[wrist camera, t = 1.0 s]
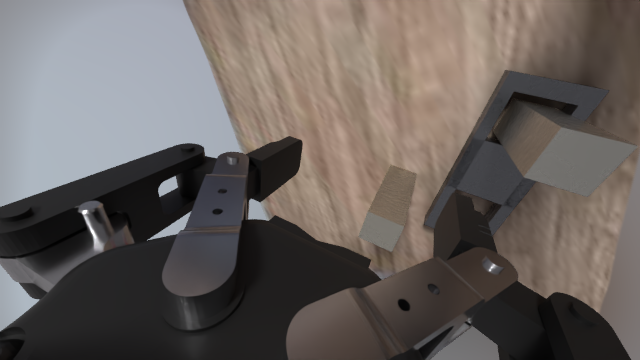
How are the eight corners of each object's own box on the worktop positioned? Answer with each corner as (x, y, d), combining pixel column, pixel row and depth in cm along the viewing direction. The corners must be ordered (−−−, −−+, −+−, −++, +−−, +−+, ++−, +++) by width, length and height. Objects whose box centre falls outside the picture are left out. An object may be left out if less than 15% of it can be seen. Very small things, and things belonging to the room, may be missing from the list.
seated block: (512, 98, 29) (561, 127, 17) (554, 107, 28) (638, 146, 16) (493, 131, 31) (523, 177, 19) (530, 141, 30) (587, 197, 18)
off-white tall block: (390, 164, 39) (367, 211, 28) (416, 173, 38) (404, 226, 26) (382, 185, 42) (358, 236, 30) (406, 194, 41) (391, 252, 29)
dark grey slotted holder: (505, 69, 28) (510, 70, 26) (596, 87, 25) (609, 90, 23) (425, 216, 41) (424, 224, 39) (480, 238, 38) (482, 248, 36)
